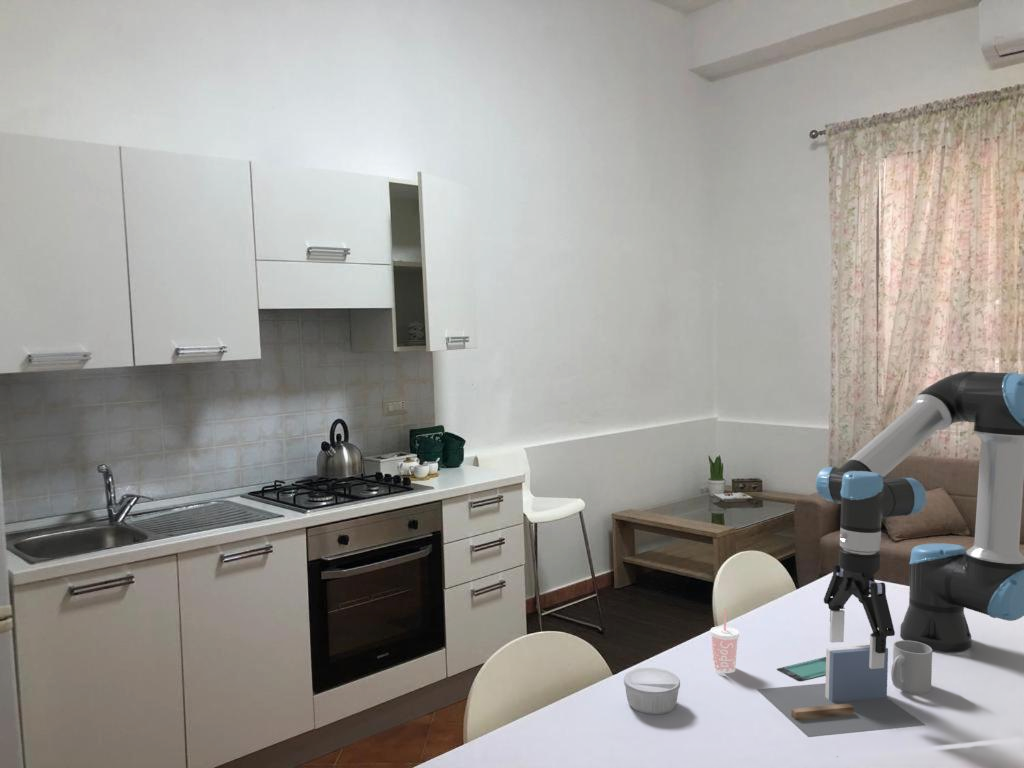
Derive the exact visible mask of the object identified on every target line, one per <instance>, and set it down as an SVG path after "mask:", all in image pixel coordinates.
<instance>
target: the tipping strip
mask: <svg viewBox="0 0 1024 768" xmlns="http://www.w3.org/2000/svg"><path fill="white" fill-rule="evenodd" d="M844 715H853V706H851V705H850V704H838V705H828V706H817V707H806V708H796V709H792V712H791V717H793V718H794V719H795V720H802V719H813V718H823V717H833V716H844Z"/></svg>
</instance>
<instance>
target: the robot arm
mask: <svg viewBox="0 0 1024 768" xmlns="http://www.w3.org/2000/svg"><path fill="white" fill-rule="evenodd" d="M959 422H961V423H962V422H968V423H973V433H975V435H976V436H977V437H978V438H979V439H980V450H979V452H980V453H979V468H978V481H977V482H978V483H977V496H976V497H977V499H976V514H975V527H974V528H975V529H974V544H973V546H971V547H970V548H969V549H967V550H966V547H965V546H964V545H960V544H954V543H939V542H936V543H924V544H919V545H915V546H914V547H913V548H912V549H911V551H910V552H911V553H910V561H909V592H908V593H909V599H908V600H909V601H908V607H907V609H906V613H905V615H904V617H903V621H902V622H901V624H900V626H899V627H900V631H899V634H900V635H899V636H900V638H901V639H902V640H908V641H916V642H920V643H923V644H926V645H928V646H930V647H931V648H932V651H935V652H940V653H941V652H944V653H958V652H964V651H967V650H969V649H971V647H972V634H971V631H970V628H969V625H968V622H967V619H966V615H965V609H968V610H970V611H973V612H976V613H981V614H984V615H986V616H989V617H990V618H993V619H1000V620H1004V621H1008V622H1012V621H1017V620H1019V619H1021V618H1023V617H1024V555H1023V554H1022V553H1021V551H1020V541H1021V526H1022V509H1023V493H1024V374H1023V373H1016V372H990V371H988V372H987V371H986V372H985V371H974V370H973V371H967V370H966V371H961V372H957V373H954V374H951V375H948V376H946V377H944V378H941V379H940V380H937V381H936V382H934V383H932V384H931V385H928V387H926V388H925V389H923V390H922V391H921V392H919V394H917V395H916V396H914V398H913V399H912V402H911V406H910V407H908V409H906V410H905V411H904V412H903V413H902V414H901V415H900V416H898V417H897V418H896V419H895V420H893V421H892V422H891V423H890V424H889V425H887V427H885V428H884V429H883V430H882V431H881V432H880V433H878V434H877V435H875V436H874V438H873V439H871V440H870V441H869V442H868V443H867V444H866V445H864V447H862V448H861V449H860V450H858V451H857V452H856V453H855V454H853V456H851V457H850V458H849V459H848V460H847V461H846V462H845V463H843V464H841V466H840V467H837V466H827V467H824V468H822V469H820V471H818V474H817V476H816V478H815V489H816V492H817V494H818V495H819V497H821V499H824V500H826V501H830V502H831V503H833V504H834V503H835V504H839V505H840V526H839V527H840V529H839V530H840V531H839V546H840V547H841V548H840V549H839V551H838V564H835V565H834V566H833V569H832V570H833V571H832V576H831V580H830V581H829V584H828V587H827V589H826V592H825V594H824V597H823V603H824V604H826V605H827V606H828V607H827V608H828V609H829V610H830V611H829V612H830V613H829V624H830V625H829V642H830V643H831V644H832V643H844V641H845V639H844V637H845V609H846V608H845V605H846V603H847V602H848V600H849V599H850V598H851V597H852V596H854V597H855V598H856V599H857V600H858V602H859V603H861V604H862V607H863V609H864V612H865V616H866V618H867V620H868V622H869V626H870V628H871V630H872V632H871V633H870V637H869V645H870V656H869V668H871V669H877V668H884V659H885V651H886V648H887V638H888V637H894V636H895V634H896V632H895V628H894V624H893V619H892V615H891V612H890V607H889V603H888V599H887V593H886V592H887V591H886V589H887V588H886V583H885V582H878V581H877V582H876V581H875V574H876V573H878V572H879V571H880V569H881V568H880V566H881V553H880V552H879V551H881V550H882V549H881V547H882V544H881V543H882V519H886V518H894V517H907V516H909V515H914V514H917V513H919V512H921V511H922V510H923V509H924V508H925V505H926V504H927V492H926V489H925V488H924V486H923V484H922V483H921V482H920V481H919V480H917V479H915V478H913V477H903V476H902V477H897V478H893V477H889V476H888V477H887V475H888V474H889V473H890V472H891V471H893V470H894V469H895V468H896V467H897V466H898V465H900V464H901V463H902V462H903V461H904V460H906V458H907V457H909V456H910V455H911V454H912V453H913V452H914V451H915V450H917V448H918V447H920V446H922V444H924V442H926V440H928V439H929V438H930V437H932V436H933V434H934V433H936V432H937V431H942V430H945V429H948V428H949V427H950V426H951V425H952V424H955V423H959Z"/></svg>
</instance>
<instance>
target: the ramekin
mask: <svg viewBox="0 0 1024 768" xmlns="http://www.w3.org/2000/svg"><path fill="white" fill-rule="evenodd" d="M623 684H624V687H625V693H626V694H625V695H626V699H627V703H628V705H629V706H630V707H631V708H633V709H634V710H635V711H637V712H639V713H642V714H646V715H647V714H648V715H662V714H667V713H669V712H671V711H672V710H673V709H674V708H675V707H676V706H677V702H678V696H679V690H680V688H681V680H680V678H679V676H677V675H676V674H675V673H673V672H671V671H669V670H667V669H663V668H658V667H657V668H656V667H639V668H634V669H631V670H629V671H628V672H626V673H625V674H624V677H623Z"/></svg>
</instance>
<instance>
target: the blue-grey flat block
mask: <svg viewBox="0 0 1024 768" xmlns="http://www.w3.org/2000/svg"><path fill="white" fill-rule="evenodd" d="M869 656H870V644H863V645H853V646H852V645H851V646H850V645H849V646H840V647H827V648H826V650H825V657H826V676H825V683H826V688H825V697H826V698H828V699H829V700H830V701H831V702H841V701H851V700H862V699H873V698H884V697H887V698H888V672H889V671H888V668H889V666H888V663H889V660H888V659H889V648H888V647H886V651H885V659H884V668H877V669H871V668H869Z"/></svg>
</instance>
